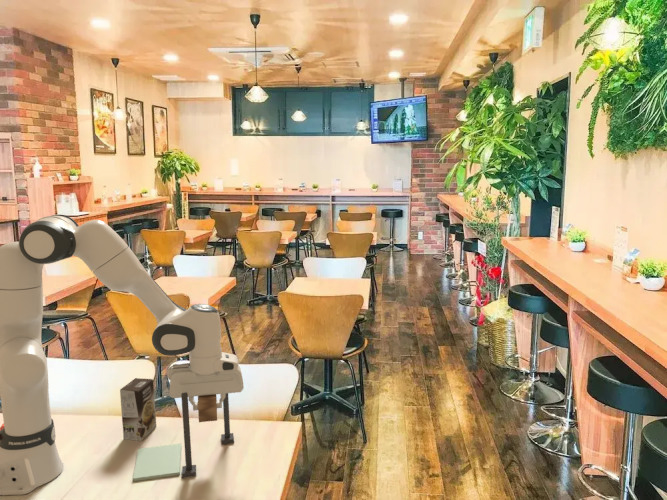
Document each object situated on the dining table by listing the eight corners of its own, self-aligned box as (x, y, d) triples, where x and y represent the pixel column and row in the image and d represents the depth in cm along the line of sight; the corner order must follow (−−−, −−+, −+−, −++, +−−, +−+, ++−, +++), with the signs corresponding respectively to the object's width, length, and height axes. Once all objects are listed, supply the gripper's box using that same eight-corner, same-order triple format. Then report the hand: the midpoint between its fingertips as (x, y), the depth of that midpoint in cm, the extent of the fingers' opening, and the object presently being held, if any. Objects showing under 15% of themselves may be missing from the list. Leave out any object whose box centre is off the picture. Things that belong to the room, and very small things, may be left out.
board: (133, 481, 149) (132, 478, 149) (138, 451, 163) (138, 448, 163) (179, 474, 152) (179, 472, 151) (181, 445, 166) (181, 443, 166)
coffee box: (142, 441, 169) (138, 391, 165) (122, 439, 170) (118, 389, 167) (157, 426, 177) (154, 378, 174) (138, 424, 179) (135, 377, 175)
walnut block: (198, 422, 155) (197, 398, 154) (198, 413, 160) (197, 391, 159) (217, 420, 156) (216, 397, 155) (216, 412, 161) (215, 389, 160)
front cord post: (182, 477, 150) (177, 397, 146) (182, 470, 154) (177, 391, 149) (196, 475, 151) (191, 395, 146) (196, 468, 154) (191, 390, 150)
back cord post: (221, 444, 167) (218, 371, 162) (221, 438, 170) (217, 366, 166) (234, 442, 167) (230, 369, 163) (233, 436, 171) (230, 365, 166)
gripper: (166, 369, 150) (168, 417, 152) (243, 363, 154) (244, 410, 157) (167, 360, 156) (169, 406, 158) (241, 355, 160) (242, 400, 163)
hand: (207, 408), depth 158 cm, fingers closed on walnut block, 5 cm apart
